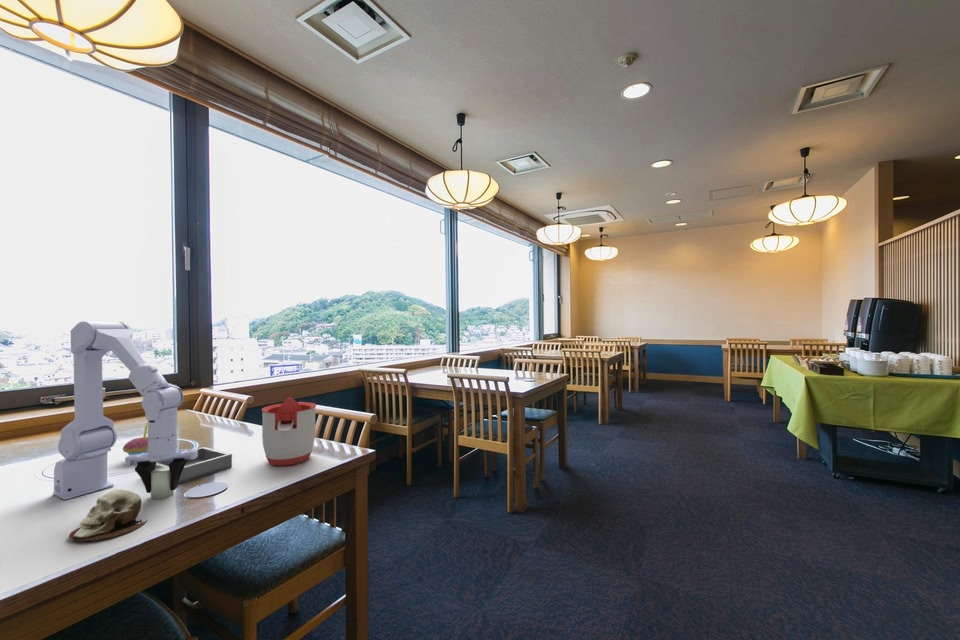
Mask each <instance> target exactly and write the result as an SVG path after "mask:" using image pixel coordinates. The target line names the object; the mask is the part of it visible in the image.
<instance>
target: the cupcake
mask: <svg viewBox="0 0 960 640" xmlns="http://www.w3.org/2000/svg"><path fill="white" fill-rule="evenodd" d="M147 435H148V421H147V422H146V423H145V425H144V430H143V435H142V437H136V438H133V439H131V440H129V441H127V443H125V444H124V445H123V447H122V450H123V452H124V453H127V454H128V456H129V455H135V454H142V453H148V436H147Z"/></svg>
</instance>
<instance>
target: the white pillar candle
mask: <svg viewBox="0 0 960 640" xmlns="http://www.w3.org/2000/svg"><path fill="white" fill-rule="evenodd" d="M170 483H171V476H170V469H169V467H164V468H159V469H156V470H153V471H152V472H151V492H150V499H151V500H155V501H157V500H162V499H167V498H169V497H172V496H173V495H174V490H171V488H170Z"/></svg>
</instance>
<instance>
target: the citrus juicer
mask: <svg viewBox="0 0 960 640" xmlns="http://www.w3.org/2000/svg"><path fill="white" fill-rule="evenodd" d="M316 407H317V404H316V403H314V402H307V401H296V400H295V399H294V398H293V397H291V396H289V397H287V398H286V399H285V400H284V401H283V402H282V403H275V404H271V405H268V406H265V407H263V408H261V412H262V420H261V421H262V423H261V424H262V428H261V429H262V432H261V433H262V435H261V439H262V447H263V450H264V451H263V452H264V454H265V458H266V460H267V463H268V464H270V465H272V466H273V465H278V466H281V467H282V466H283V467H284V466H290V465H291V466H292V465H296V464H295V463H299V462H302V461H303V462H305V461H307V460H309V458H310V457H311V454H312V452H313V447H314V443H315V439H316ZM306 459H307V460H306ZM304 460H305V461H304ZM303 462H302V463H303ZM299 464H300V463H299ZM278 466H277V467H278Z"/></svg>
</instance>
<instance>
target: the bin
mask: <svg viewBox="0 0 960 640" xmlns="http://www.w3.org/2000/svg"><path fill="white" fill-rule="evenodd" d="M196 449H198V457H197V458H195V459H188V461H187V463H186V465H185V467H184V468H183V471H182V473H181V476H180V479H179V482H178V485H181V484H184V483H187V482H191V481H193V480H194V481H195V480H196V479H200V478H202V477H205V476H208V475H212V474H215V473H218V472H223V471H225V470H229V469H232V467H233V454H232V453H229V452H225V451H221V450H218V449H214V448H209V447H206V446H203V447H198V448H195V449H193V450H196ZM171 462H173V460H170V461H159V462H156V467H155V470H156V469H159V468H164V467H169V464H170V463H171Z"/></svg>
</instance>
